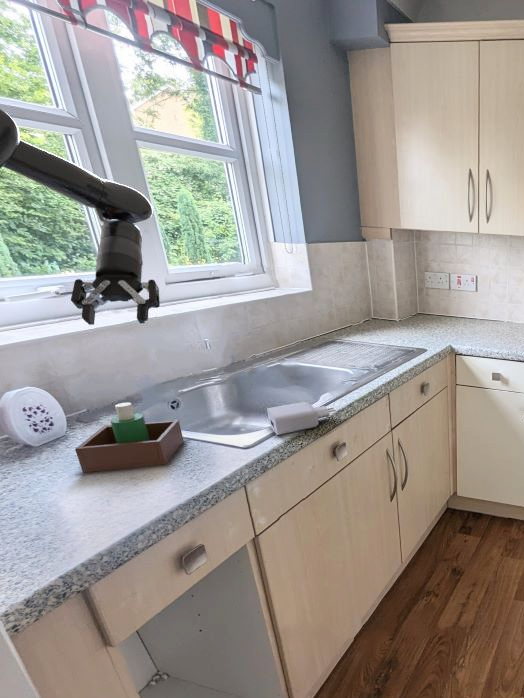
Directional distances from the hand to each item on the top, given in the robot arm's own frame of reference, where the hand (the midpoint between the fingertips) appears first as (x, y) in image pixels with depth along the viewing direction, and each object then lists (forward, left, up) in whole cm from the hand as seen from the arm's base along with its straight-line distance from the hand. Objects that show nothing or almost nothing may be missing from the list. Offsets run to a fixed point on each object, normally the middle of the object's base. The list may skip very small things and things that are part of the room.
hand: (115, 322), depth 96 cm
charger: (+34, 0, -27) cm, 43 cm away
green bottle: (+2, -10, -26) cm, 28 cm away
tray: (+2, -10, -27) cm, 29 cm away
